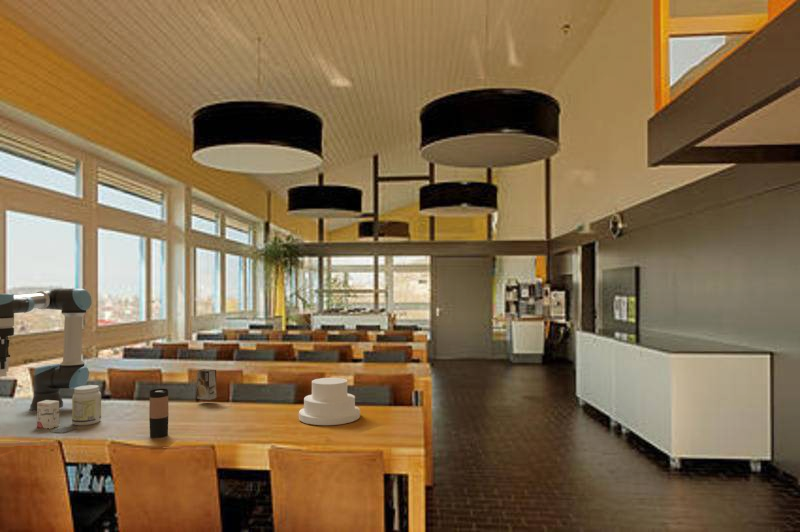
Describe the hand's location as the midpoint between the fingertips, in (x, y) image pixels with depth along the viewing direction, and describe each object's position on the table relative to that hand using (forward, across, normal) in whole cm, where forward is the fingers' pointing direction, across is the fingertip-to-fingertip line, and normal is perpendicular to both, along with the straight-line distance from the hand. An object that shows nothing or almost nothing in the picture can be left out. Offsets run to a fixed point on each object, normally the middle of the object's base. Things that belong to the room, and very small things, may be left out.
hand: (3, 374), depth 249 cm
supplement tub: (+26, +6, +33) cm, 42 cm away
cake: (+26, +61, +134) cm, 150 cm away
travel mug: (+26, +49, +58) cm, 80 cm away
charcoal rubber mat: (+26, +16, +23) cm, 38 cm away
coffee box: (+26, -15, +93) cm, 98 cm away
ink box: (+26, +4, +17) cm, 31 cm away
